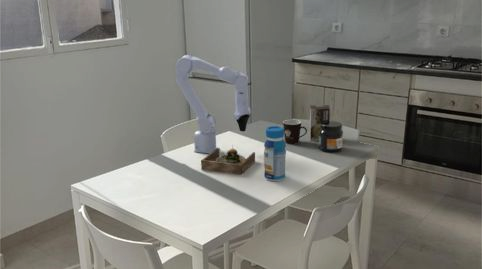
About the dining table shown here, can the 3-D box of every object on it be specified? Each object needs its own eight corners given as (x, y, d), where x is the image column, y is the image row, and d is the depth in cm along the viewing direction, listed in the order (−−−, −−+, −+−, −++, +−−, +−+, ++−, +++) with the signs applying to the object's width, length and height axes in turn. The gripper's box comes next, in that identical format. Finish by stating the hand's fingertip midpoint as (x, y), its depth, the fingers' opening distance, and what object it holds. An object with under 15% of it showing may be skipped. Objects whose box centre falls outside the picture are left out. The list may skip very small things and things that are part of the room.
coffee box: (328, 136, 225) (329, 104, 220) (329, 141, 219) (330, 108, 214) (309, 136, 226) (310, 104, 221) (309, 140, 220) (310, 108, 215)
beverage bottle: (284, 182, 174) (284, 132, 168) (262, 181, 175) (262, 131, 169) (286, 173, 182) (287, 125, 175) (265, 172, 183) (265, 124, 177)
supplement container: (344, 153, 203) (345, 127, 199) (320, 153, 203) (321, 127, 199) (339, 145, 213) (341, 120, 209) (317, 145, 213) (317, 120, 209)
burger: (212, 165, 192) (212, 148, 190) (226, 156, 202) (226, 140, 200) (238, 170, 187) (237, 153, 185) (251, 160, 197) (250, 144, 195)
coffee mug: (279, 141, 220) (279, 121, 217) (294, 138, 224) (295, 118, 221) (292, 148, 210) (292, 127, 207) (308, 145, 214) (308, 124, 211)
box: (201, 169, 188) (201, 160, 187) (217, 156, 202) (217, 148, 200) (241, 174, 181) (241, 165, 180) (255, 161, 195) (255, 152, 194)
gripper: (244, 105, 193) (244, 136, 198) (256, 98, 206) (256, 127, 210) (228, 104, 196) (229, 134, 200) (242, 97, 209) (242, 125, 213)
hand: (242, 130), depth 205 cm, fingers closed
